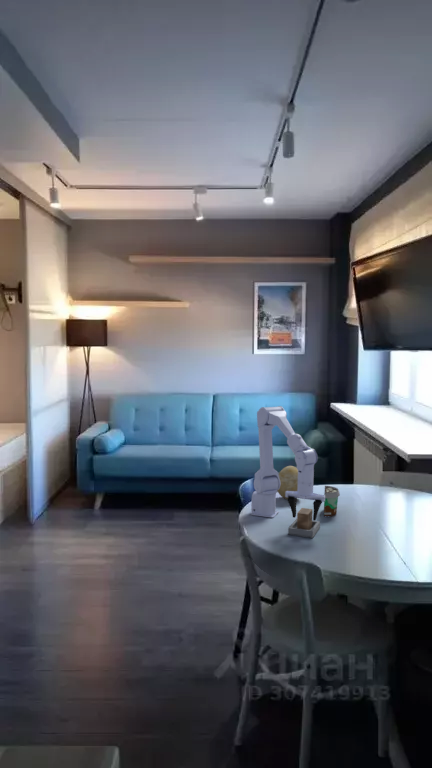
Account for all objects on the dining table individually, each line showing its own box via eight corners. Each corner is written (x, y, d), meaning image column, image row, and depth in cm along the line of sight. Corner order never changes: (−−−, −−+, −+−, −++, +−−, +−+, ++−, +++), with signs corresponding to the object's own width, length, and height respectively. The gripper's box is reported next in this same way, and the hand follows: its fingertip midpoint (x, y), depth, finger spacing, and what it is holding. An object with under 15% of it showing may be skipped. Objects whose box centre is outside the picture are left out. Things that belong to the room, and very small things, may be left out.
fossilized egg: (309, 499, 254) (310, 465, 253) (294, 505, 244) (295, 470, 243) (285, 493, 262) (286, 461, 261) (269, 499, 253) (270, 466, 251)
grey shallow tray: (288, 534, 208) (288, 528, 207) (296, 524, 219) (296, 518, 218) (312, 538, 204) (312, 531, 204) (319, 528, 215) (320, 521, 215)
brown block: (296, 531, 209) (297, 513, 208) (301, 526, 215) (301, 507, 215) (307, 533, 208) (308, 514, 207) (311, 527, 214) (312, 509, 213)
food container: (339, 518, 227) (340, 493, 226) (323, 517, 228) (324, 492, 227) (339, 509, 239) (339, 486, 238) (324, 508, 240) (324, 485, 239)
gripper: (283, 482, 209) (282, 518, 210) (322, 486, 203) (321, 524, 205) (288, 478, 215) (287, 513, 217) (326, 482, 210) (325, 518, 211)
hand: (304, 518), depth 211 cm, fingers open, 7 cm apart
